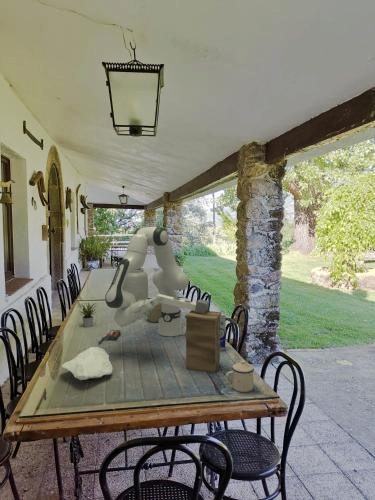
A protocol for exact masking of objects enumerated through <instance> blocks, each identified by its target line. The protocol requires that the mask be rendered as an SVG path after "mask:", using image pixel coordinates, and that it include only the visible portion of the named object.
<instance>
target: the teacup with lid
mask: <svg viewBox="0 0 375 500" xmlns="http://www.w3.org/2000/svg"><path fill="white" fill-rule="evenodd" d="M254 371H255V368H254V366H253V365H252V364H250V363H247V362H246V360H241V361H240V362H236V363H235V364H233V365H232V370H231V371H228V372H226V374H225V380H226V381H227V382H228V383H229V384H232V388H233V389H234V390H235V391H237V392H242V393H248V392H250V391H252V390H253V389H254ZM231 374H232V380H230V379H228V377H229V375H231Z"/></svg>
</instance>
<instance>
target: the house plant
mask: <svg viewBox="0 0 375 500" xmlns="http://www.w3.org/2000/svg"><path fill="white" fill-rule="evenodd" d="M84 304H85V305H86V307H85V305H83V304H82V303H80V305H81V306H82V311H80V310H79V313H80V314H81V315H82V322H83V327H84V328H92V327H93V322H94V316H93V315H95V314H97V312H96V311H95V310H96V308H95V307H97V306H98V304H96V302H95V303H93V304H91V305H90V303H89V302H84ZM95 304H96V305H95Z"/></svg>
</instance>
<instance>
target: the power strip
mask: <svg viewBox="0 0 375 500" xmlns="http://www.w3.org/2000/svg"><path fill="white" fill-rule="evenodd" d="M156 296H157V297H156ZM156 296H155V297H156V299H158V298H160V297H162V301H160V302H161V303H165V304H169V305H173V306H177V307H179V308H181V309H186V310H190V311H191V310H193V311H195V312H199V313H203V314H205V313H206V312H207V311H209V305H210V300H205V299H200V298H199V299H198V300H196V302H195V301H190V300H187V299H182V298H180V297H178V298H174V297H170V296H166V295H162V294H160V293H159V294H156Z"/></svg>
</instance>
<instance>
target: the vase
mask: <svg viewBox="0 0 375 500" xmlns="http://www.w3.org/2000/svg"><path fill="white" fill-rule="evenodd" d="M122 290H123V291H127V292H130V293H133V294H134V295H135V298H136V302H138V301H139V300H146V299H149V275H148V272H146V271H145V269H144V268H143V267H141V268H139V269H137V270H132V271H130V272H129V273H128V274H127V276H126V279H125V282H124V284H123V287H122Z"/></svg>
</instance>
